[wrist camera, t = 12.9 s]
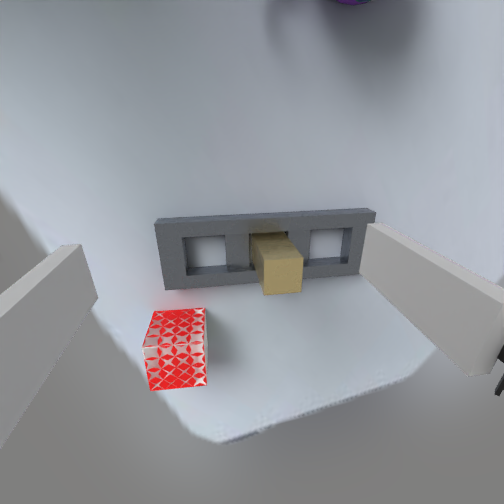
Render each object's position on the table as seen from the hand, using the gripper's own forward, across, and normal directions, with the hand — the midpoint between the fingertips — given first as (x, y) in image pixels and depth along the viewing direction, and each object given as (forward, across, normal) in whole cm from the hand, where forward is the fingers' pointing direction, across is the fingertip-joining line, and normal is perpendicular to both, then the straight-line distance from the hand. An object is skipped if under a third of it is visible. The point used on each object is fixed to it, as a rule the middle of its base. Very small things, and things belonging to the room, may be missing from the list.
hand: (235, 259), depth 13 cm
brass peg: (+24, +6, -10) cm, 27 cm away
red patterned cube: (+24, -8, -24) cm, 35 cm away
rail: (+24, +7, -10) cm, 27 cm away
